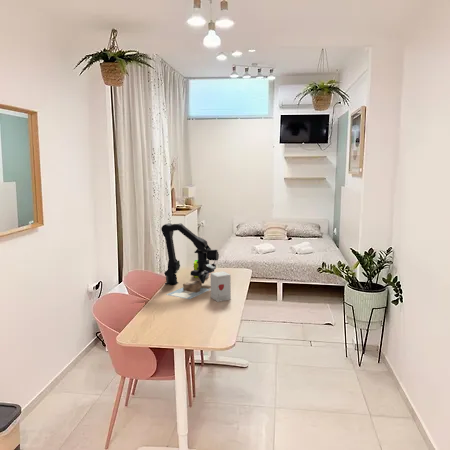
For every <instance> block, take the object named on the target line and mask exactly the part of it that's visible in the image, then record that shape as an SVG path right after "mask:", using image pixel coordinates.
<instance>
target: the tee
mask: <svg viewBox="0 0 450 450" xmlns="http://www.w3.org/2000/svg"><path fill="white" fill-rule="evenodd" d="M182 288H183V290H185V291H190V292H196V293H197V292H199V291H200V288H203V284H202V282H201V281H200V280H195V281H192V282H189V281H188V282H185V283H183V284H182Z"/></svg>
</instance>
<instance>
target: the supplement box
mask: <svg viewBox="0 0 450 450" xmlns="http://www.w3.org/2000/svg"><path fill="white" fill-rule="evenodd" d="M209 278H210V289H211V290H210V299H212V300H214V301H216V302H217V303H219V302H223V301H224V302H225V301H228V300H231V299H232V297H231V296H232V295H231V294H232V293H231V291H232V290H231V288H232V287H231V283H232V282H231V273H228V272H226V271H217V272H212V273H209Z"/></svg>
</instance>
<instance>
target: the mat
mask: <svg viewBox="0 0 450 450" xmlns="http://www.w3.org/2000/svg"><path fill="white" fill-rule="evenodd" d="M209 291H211V288H206V287H202V288H200V291H199V292H197V293H196V292H190V291H185V290H183V287H181V288H177V289H176V290H173V291H171V292H169V293H166V296H172V297H176V298H180V299H181V298H182V299H187V300H192V299H193V298H196V297H198V296H200V295H201V294H204V293H206V292H209Z"/></svg>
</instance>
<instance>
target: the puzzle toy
mask: <svg viewBox="0 0 450 450" xmlns="http://www.w3.org/2000/svg"><path fill="white" fill-rule="evenodd" d="M197 261H198V259H195V260H194V262H193V270H197V268H198V263H197ZM207 261H208V262H209V263H210V260H208V259H207ZM193 277H194V278H195V279H196V278H197V279H199V277H198V276H193ZM206 278H210V273H208V274H207V275H206Z"/></svg>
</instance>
